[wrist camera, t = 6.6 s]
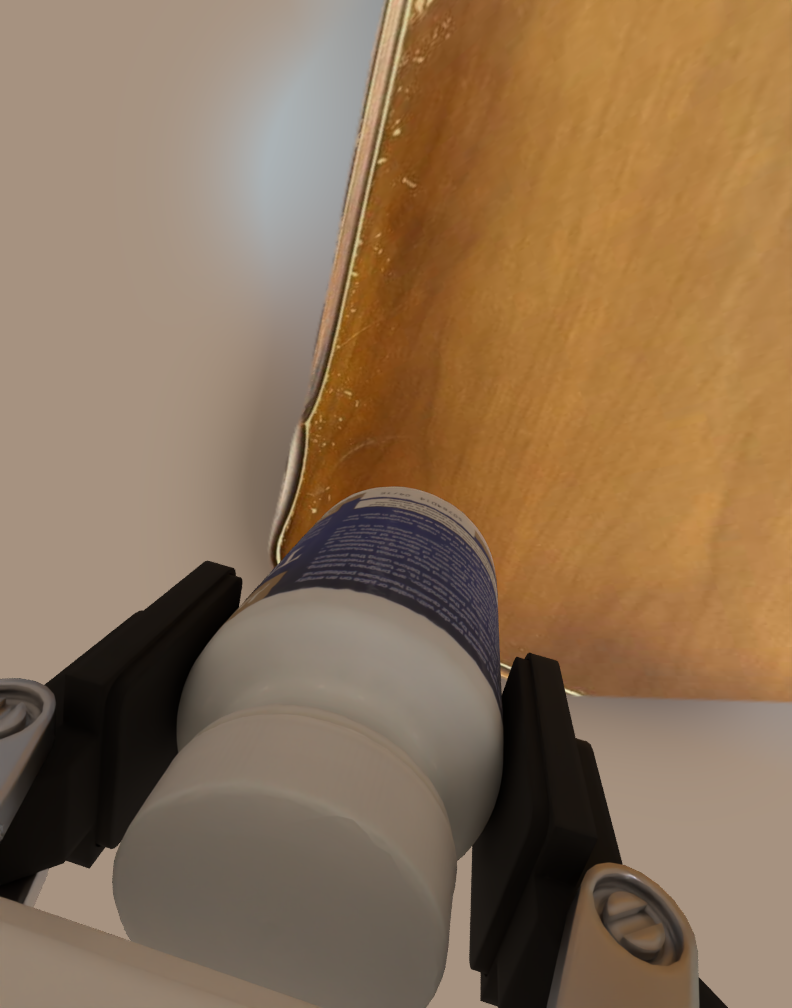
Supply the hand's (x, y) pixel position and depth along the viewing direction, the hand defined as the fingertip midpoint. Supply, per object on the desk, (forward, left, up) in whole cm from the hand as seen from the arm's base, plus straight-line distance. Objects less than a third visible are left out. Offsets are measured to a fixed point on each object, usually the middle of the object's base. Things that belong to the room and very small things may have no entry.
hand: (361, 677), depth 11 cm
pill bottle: (0, 0, -5) cm, 5 cm away
